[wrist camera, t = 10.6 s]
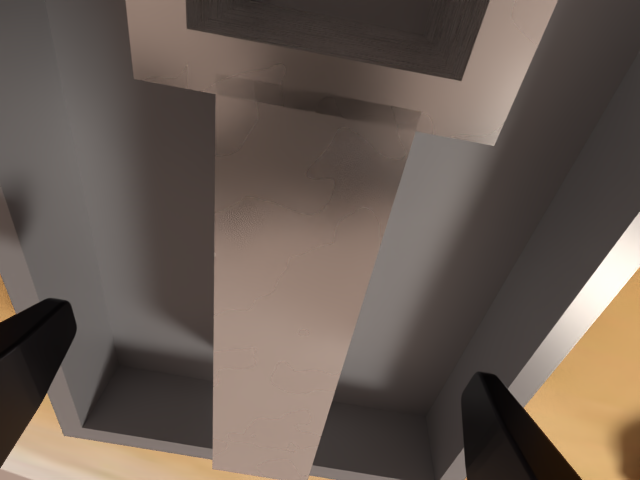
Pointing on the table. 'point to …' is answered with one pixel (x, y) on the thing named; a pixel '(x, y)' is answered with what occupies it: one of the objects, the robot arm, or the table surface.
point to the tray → (393, 256)
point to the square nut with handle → (315, 179)
